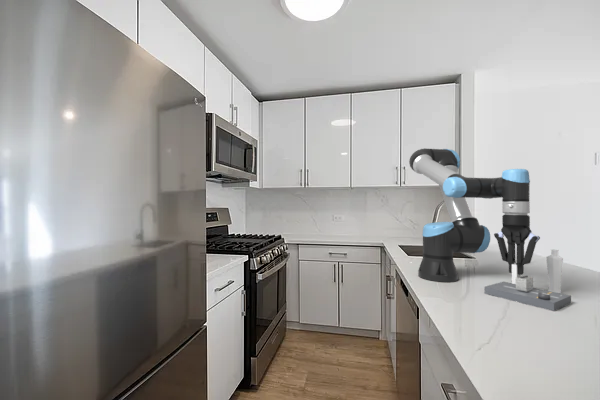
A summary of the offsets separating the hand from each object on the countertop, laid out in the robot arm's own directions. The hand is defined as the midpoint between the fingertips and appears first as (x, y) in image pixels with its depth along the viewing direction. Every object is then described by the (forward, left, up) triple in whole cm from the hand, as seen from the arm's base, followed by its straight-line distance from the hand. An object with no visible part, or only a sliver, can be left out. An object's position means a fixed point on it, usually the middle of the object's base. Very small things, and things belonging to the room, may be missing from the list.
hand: (516, 283), depth 98 cm
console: (+3, 0, -4) cm, 5 cm away
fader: (+2, 0, -2) cm, 3 cm away
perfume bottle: (+5, +19, -5) cm, 20 cm away
